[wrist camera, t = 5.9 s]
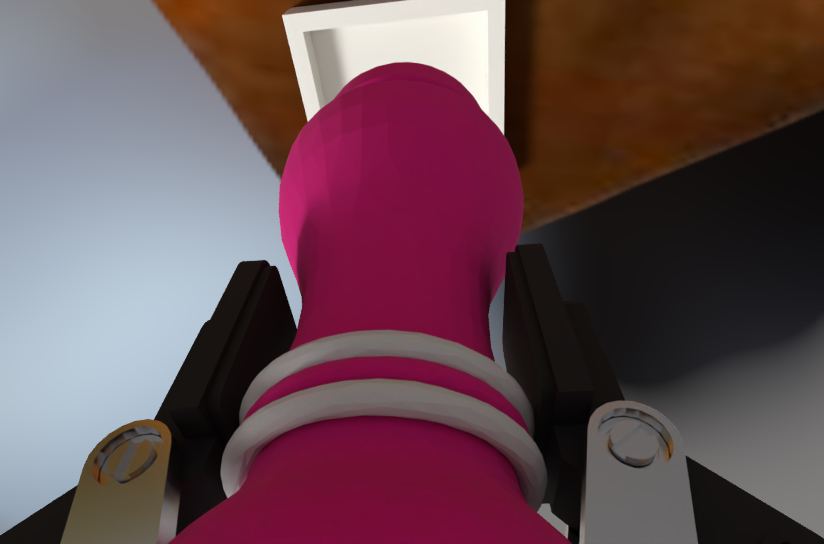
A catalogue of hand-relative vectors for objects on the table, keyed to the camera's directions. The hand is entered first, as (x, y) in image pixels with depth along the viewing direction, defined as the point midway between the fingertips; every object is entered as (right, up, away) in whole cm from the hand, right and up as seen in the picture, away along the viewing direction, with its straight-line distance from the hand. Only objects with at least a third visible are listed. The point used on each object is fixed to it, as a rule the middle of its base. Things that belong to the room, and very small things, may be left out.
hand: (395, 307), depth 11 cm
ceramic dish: (0, +13, +23) cm, 26 cm away
